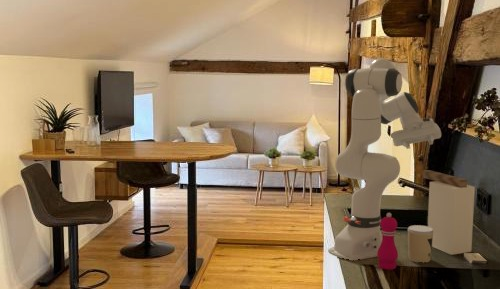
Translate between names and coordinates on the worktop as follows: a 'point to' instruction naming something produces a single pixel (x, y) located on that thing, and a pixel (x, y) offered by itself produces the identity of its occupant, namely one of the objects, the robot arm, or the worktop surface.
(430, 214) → the cream stand
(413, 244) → the coffee cup
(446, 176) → the walnut bar
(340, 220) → the worktop surface
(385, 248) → the pepper mill
